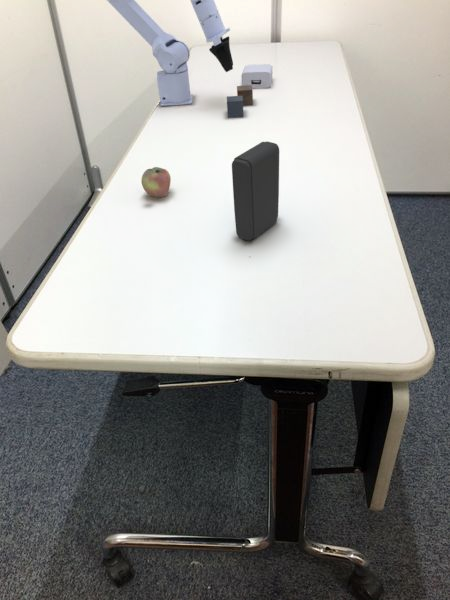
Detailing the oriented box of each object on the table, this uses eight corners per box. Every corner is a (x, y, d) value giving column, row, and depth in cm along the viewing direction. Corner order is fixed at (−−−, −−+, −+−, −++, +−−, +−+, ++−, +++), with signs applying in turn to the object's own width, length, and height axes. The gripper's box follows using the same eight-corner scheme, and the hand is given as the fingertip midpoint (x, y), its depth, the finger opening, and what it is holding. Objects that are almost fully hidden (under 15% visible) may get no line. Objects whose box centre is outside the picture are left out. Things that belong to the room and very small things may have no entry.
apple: (140, 205, 94) (135, 178, 90) (147, 187, 100) (142, 161, 96) (169, 204, 94) (165, 177, 90) (174, 186, 100) (171, 160, 96)
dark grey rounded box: (263, 215, 88) (262, 137, 79) (280, 221, 86) (282, 142, 77) (233, 237, 83) (228, 157, 74) (251, 244, 81) (248, 163, 71)
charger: (273, 74, 158) (270, 87, 146) (246, 74, 159) (241, 88, 148) (273, 58, 154) (270, 71, 143) (245, 59, 156) (241, 72, 145)
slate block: (227, 118, 129) (226, 101, 126) (227, 112, 132) (226, 96, 129) (243, 117, 129) (242, 100, 126) (243, 111, 132) (242, 95, 129)
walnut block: (237, 106, 135) (237, 90, 132) (237, 101, 139) (236, 85, 136) (252, 105, 135) (252, 89, 132) (252, 100, 138) (251, 84, 136)
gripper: (221, 11, 117) (242, 65, 124) (223, 9, 129) (242, 58, 136) (196, 24, 119) (219, 77, 126) (200, 21, 131) (220, 69, 138)
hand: (229, 68), depth 131 cm, fingers open, 7 cm apart
